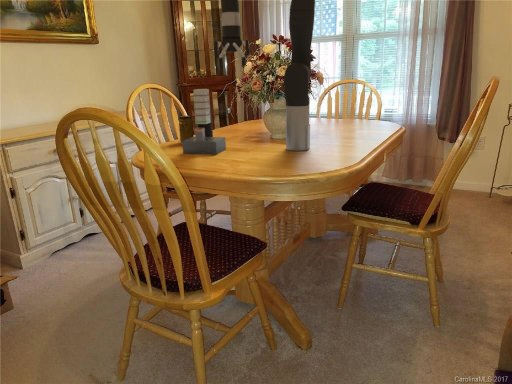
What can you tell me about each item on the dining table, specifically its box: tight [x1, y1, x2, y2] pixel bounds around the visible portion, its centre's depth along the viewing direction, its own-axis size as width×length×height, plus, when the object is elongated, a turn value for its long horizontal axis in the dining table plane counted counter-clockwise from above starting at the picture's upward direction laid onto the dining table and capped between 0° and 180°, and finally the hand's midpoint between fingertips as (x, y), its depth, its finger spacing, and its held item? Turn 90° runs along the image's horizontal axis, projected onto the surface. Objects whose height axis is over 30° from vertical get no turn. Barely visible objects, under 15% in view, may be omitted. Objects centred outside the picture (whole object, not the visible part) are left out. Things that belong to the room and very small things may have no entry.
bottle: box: [196, 106, 214, 137], centre depth 189 cm, size 7×7×20 cm
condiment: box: [178, 115, 194, 145], centre depth 186 cm, size 7×8×12 cm
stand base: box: [182, 127, 227, 156], centre depth 164 cm, size 14×11×10 cm
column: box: [192, 88, 211, 125], centre depth 161 cm, size 5×5×13 cm
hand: (232, 67), depth 169 cm, fingers open, 8 cm apart
